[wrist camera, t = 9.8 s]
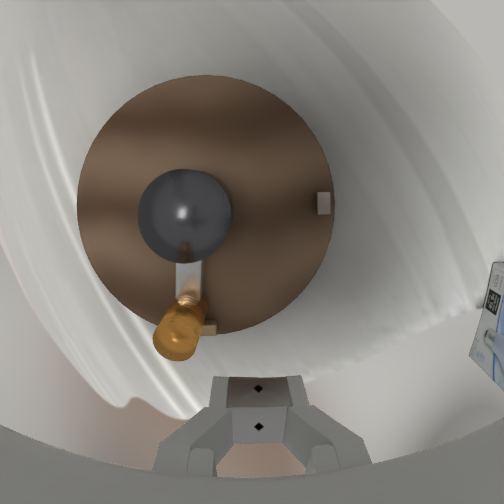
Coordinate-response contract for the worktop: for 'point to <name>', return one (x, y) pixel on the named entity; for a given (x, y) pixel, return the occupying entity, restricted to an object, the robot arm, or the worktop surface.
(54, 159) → the worktop surface
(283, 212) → the dial plate
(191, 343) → the dial pointer
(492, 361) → the light bulb box
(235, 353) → the worktop surface
